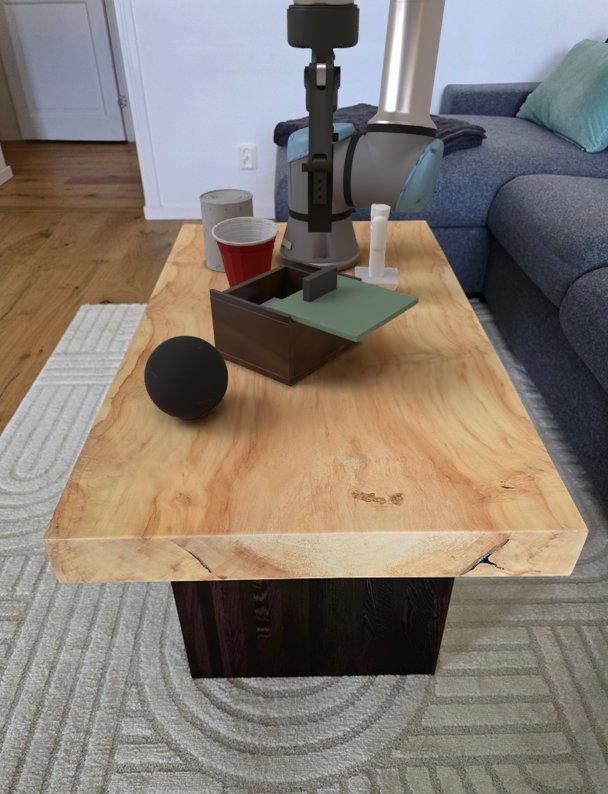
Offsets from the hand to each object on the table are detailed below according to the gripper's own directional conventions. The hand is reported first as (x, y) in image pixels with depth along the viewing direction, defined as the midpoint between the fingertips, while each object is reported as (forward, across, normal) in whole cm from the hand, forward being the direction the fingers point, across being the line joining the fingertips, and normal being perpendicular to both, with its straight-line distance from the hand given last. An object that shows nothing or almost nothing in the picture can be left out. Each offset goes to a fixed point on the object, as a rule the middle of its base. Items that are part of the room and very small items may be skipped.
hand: (321, 214), depth 78 cm
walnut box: (+20, -4, -5) cm, 21 cm away
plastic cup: (+21, -22, -12) cm, 32 cm away
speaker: (+21, +14, -16) cm, 29 cm away
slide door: (+11, +2, +3) cm, 12 cm away
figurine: (+21, -24, +9) cm, 32 cm away
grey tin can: (+21, -38, -18) cm, 47 cm away
